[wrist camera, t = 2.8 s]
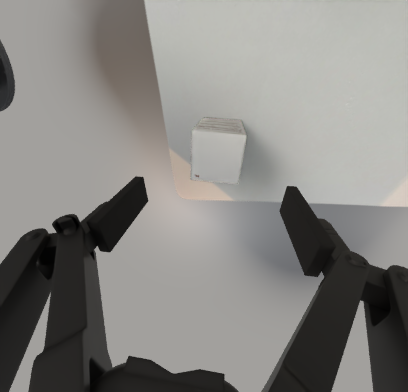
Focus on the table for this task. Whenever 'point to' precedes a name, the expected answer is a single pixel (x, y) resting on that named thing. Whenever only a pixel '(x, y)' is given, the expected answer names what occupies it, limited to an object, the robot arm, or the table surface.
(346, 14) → the table surface
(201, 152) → the white packaging box
